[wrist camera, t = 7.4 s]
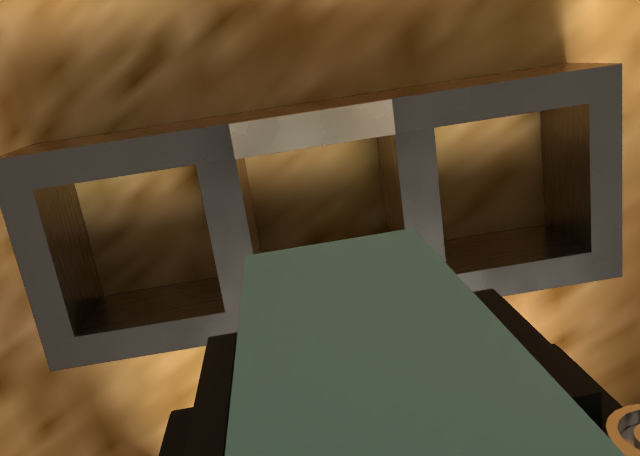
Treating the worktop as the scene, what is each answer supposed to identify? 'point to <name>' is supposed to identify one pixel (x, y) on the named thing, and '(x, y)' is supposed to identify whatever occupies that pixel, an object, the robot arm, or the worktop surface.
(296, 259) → the peg
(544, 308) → the worktop surface
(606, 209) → the rail
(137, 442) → the worktop surface
